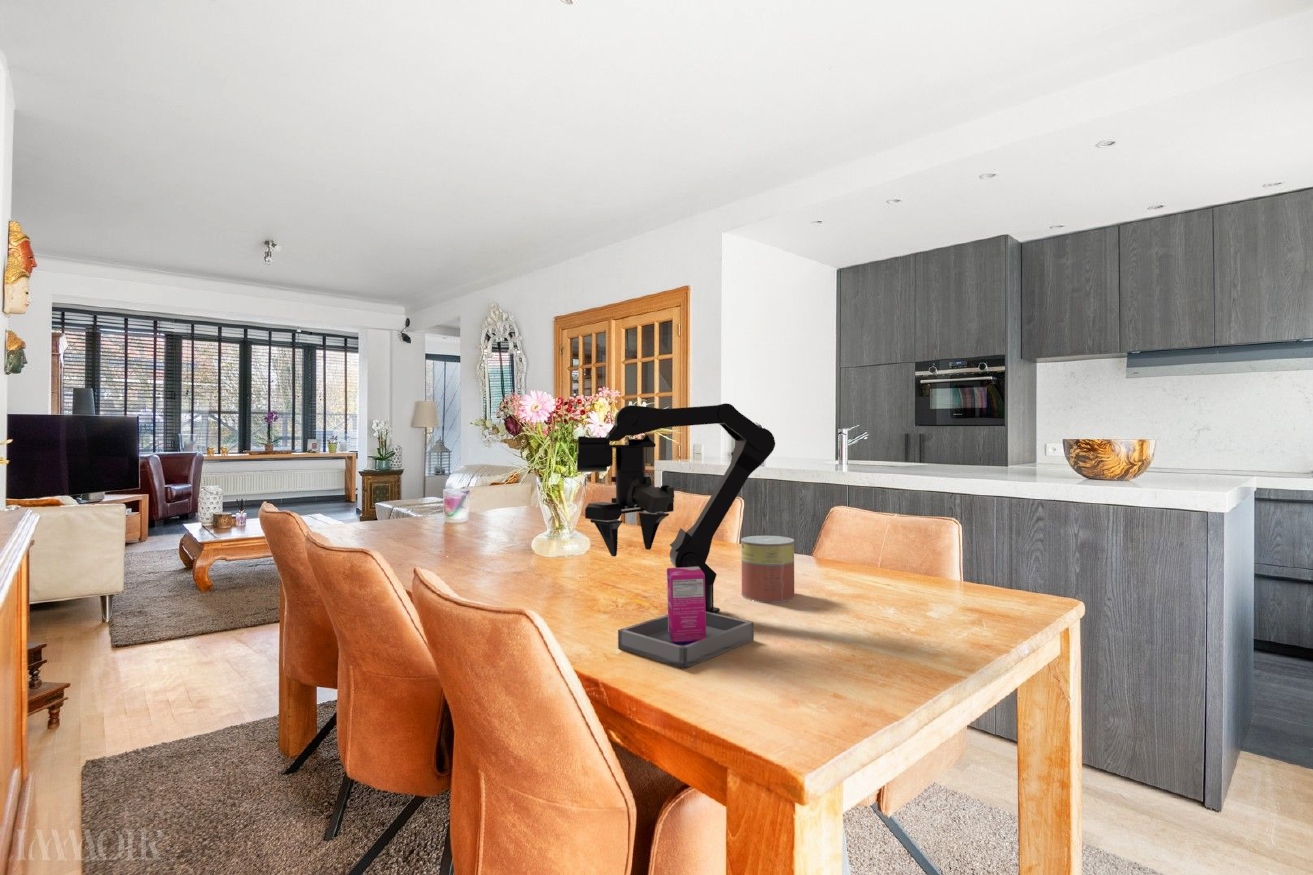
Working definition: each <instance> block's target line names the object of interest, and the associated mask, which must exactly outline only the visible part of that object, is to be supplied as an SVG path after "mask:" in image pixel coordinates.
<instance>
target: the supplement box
mask: <svg viewBox="0 0 1313 875" xmlns="http://www.w3.org/2000/svg"><path fill="white" fill-rule="evenodd" d="M666 590H667V592H666V593H667V596H666V597H667V615H668V634H669V636H670V638H671V641H672V643H673V644H676V645H686V644H691V643H693V642H696V641H699V640H701V639H704V638H706V608H705V575H704V573H703V572H702V570H701V569H700V568H699V567H683V568H675V567H668V568H666Z"/></svg>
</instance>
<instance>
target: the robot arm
mask: <svg viewBox="0 0 1313 875" xmlns="http://www.w3.org/2000/svg"><path fill="white" fill-rule="evenodd" d="M613 422H614V424H613V426H612V428H611V429H610V430H609V431H607V434H606V436H604V437H602V436H601V437H600V436H597V437H595V436H593V437H592V436H591V437H590V436H586V435H585V436H581V435H579V436H578V437H577V452H576V471H577V472H576V473H593V472H594V473H600V472H603V473H604V472H607V471H608V468H610V467H613V463H614V462H613V461H614V456H613V453H614V452H613V449H615V476H611V477H610V478H611V481H610V482H611V483H615V497H611V502H606V501H598V502H590V503H588V504H587V505H586V507H585V509H584V514H585V515H584V518H585V519H587V520H589V521H590V523H591V524H594V526H595V527H596V528H597V530H598V532H599V533H600V536H601V538H602V539H603V541H604V543H605V545H606V547H607V550H608V552H609V553H610V556H611V557H617V555H618V538H619V536H618V533H619V532H618V529H619V528H620V526H621V524H622V523H623V520H620V518H621V517H622V515H624V514H630V513H637V512H638V515H639V516H638V517H639V522H640V528H641V533H642V535H641V536H642V540H643V544H644V548H645V550H649V551H650V550H651V549H652V546H653V543H654V540H655V537H656V534H657V531H658V528H659V525H660V524H661V522H662V521H663V520H664V519H665V518H666V517H669V516H670V513H672V512H674V502H675V499H674V498H675V488H674V486H672V485H671V484H662V485H661V486H654V485H652V478H651V476H647V475H646V474H647V473H646V448H655V447H656V446H657V445H656V443H655V442H654V441H652V440H651V438H650V437H649V435H647V434H646V433H649V432H653V431H658V430H660V429H665V428H675V427H689V426H701V425H702V426H703V425H716V424H717V425H720V426H721V428H723V429H724V431H725V432H726V433H727V434H728V435H729V436H730V438H732V439H733V440H734V441H736V443H735V445H734V448H733V451H732V455H731V460H730V464H729V466H728V468H727V469H726V470H725V473H724V474H723V475H722V477H721V480H720V481H719V482H718V484H717V486H716V487H715V489H714V491H713V493H712V494H711V496H710V498H709V499H708V501H707V502H706V504H705V506H704V508H703V509H702V510H701V513H700V514H699V516H698V518H697V519H696V521H695V523H694V524H693V525H692V526H691V527H690V528H689V529H687V531H686V530H684V529H683V528H681V527H680V528H679V530H678V532H677V534H676V537H675V539H674V540H673V541H672V542H671V543H670V544H669V547H671V549H670V552H669V559H670V562H671V564H672V566H673V568H683V567H699V568H700V569H701V570H702V572H703V573H704V575H705V608H706V612H711V613H715V614H716V613H718V612H720V610H721V609H720V608H719V607H715V606H714V583H715V582H716V578H717V573H716V572H715V571H714V570H713V569H712V568H711V567H710V566H709V565H708V564H707V563H706V562H707V559H708V556H709V555H710V551H711V546H712V542H713V538H714V536H715V534H716V532H717V530H718V529H719V528H720V526H721V524H722V522H723V520H724V518H725V517H726V515H727V513H728V512H729V511H730V508H731V507H732V505H733V503H734V501H735V500H736V499H737V496H738V495H739V494H740V492H741V490H742V488H743V486H744V485H745V483H746V482H747V480H748V479H749V477H750V475H751V474H752V473H753V472H754V471H755V470H757V469H758V468H759V467H760V466H761V465H762V464H764V462H765V461H766V460H767V459H768V457H769V456H771V454H772V452H773V451H774V449H775V447H776V440H775V436H774V434H773V433H772V432H771V431H770V430H769V429H768V428H765V427H760V426H758V425H757V424H756V423H755V422H754V421H752V420H751V419H749V417H747V416H745V415H743V413H741V412H740V411H739V410H737V408H735V406H734V405H733V404H731V403H720V404H715V405H702V406H701V405H700V406H688V407H687V406H686V407H675V408H659V407H652V406H643V405H633V404H631V405H630V404H629V405H626V406H624V407H621V408H619V410H618V411H617V412H616V414H615V416H614V421H613ZM642 434H645V435H644V436H643V437H642V438H627V439H626V444H610V442H619V441H621V440H623V439H624V438H626V437H627V436H628V437H632V436H638V435H642Z"/></svg>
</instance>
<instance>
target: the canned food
mask: <svg viewBox="0 0 1313 875" xmlns="http://www.w3.org/2000/svg"><path fill="white" fill-rule="evenodd" d="M740 541H741V543H740V544H741V548H740V549H741V550H740V551H741V554H740V555H741V560H740V561H741V593H740V595H742V596H743V597H742V596H741V597H742V598H743V599H746V600H748V599H751V600H750V601H752V600H754V602H758V601H759V602H758V603H783V602H788V601H792V600H794V599H795V597H796V596H795V595H796V594H795V539H794V538H792V537H788V536H782V535H765V534H764V535H760V534H759V535H750V536H744V537H741V539H740Z"/></svg>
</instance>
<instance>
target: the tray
mask: <svg viewBox="0 0 1313 875" xmlns="http://www.w3.org/2000/svg"><path fill="white" fill-rule="evenodd" d="M754 630H755V629H754V622H753V621H748V620H744V619H741V618H735V617H732V616H728V615H724V614H718V613H716V612H715V613H711V612H706V638H704V639H701V640H699V641H696V642H693V643H691V644H686V645H676V644H673V643H672V641H671V638H670V636H669V634H668V614H665V615H662V616H659V617H655V618H652V619H649V620H646V621H642V622H639V623H635V624H632V625H630V626H626V627H623V628H619V629H617V640H618V641H617V646H618V649H619V650H623V651H625V652H629V653H632V654H634V655H639V656H641V657H645V658H647V659H651V660H653V661H657V662H660V663H662V664H667V665H669V666H673V667H676V668H679V669H682V670H685V669H687V668H691V667H692V666H695V665H697V664H700V663H702V662H704V661H706V660H709V659H711V658H714V657H716V656H718V655H721V654H724V653H726V652H729V651H730V650H733V649H736V648H739V647H741V646H743V645H745V644H748V643H750V642H752V641H754V640H755V638H754Z"/></svg>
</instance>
